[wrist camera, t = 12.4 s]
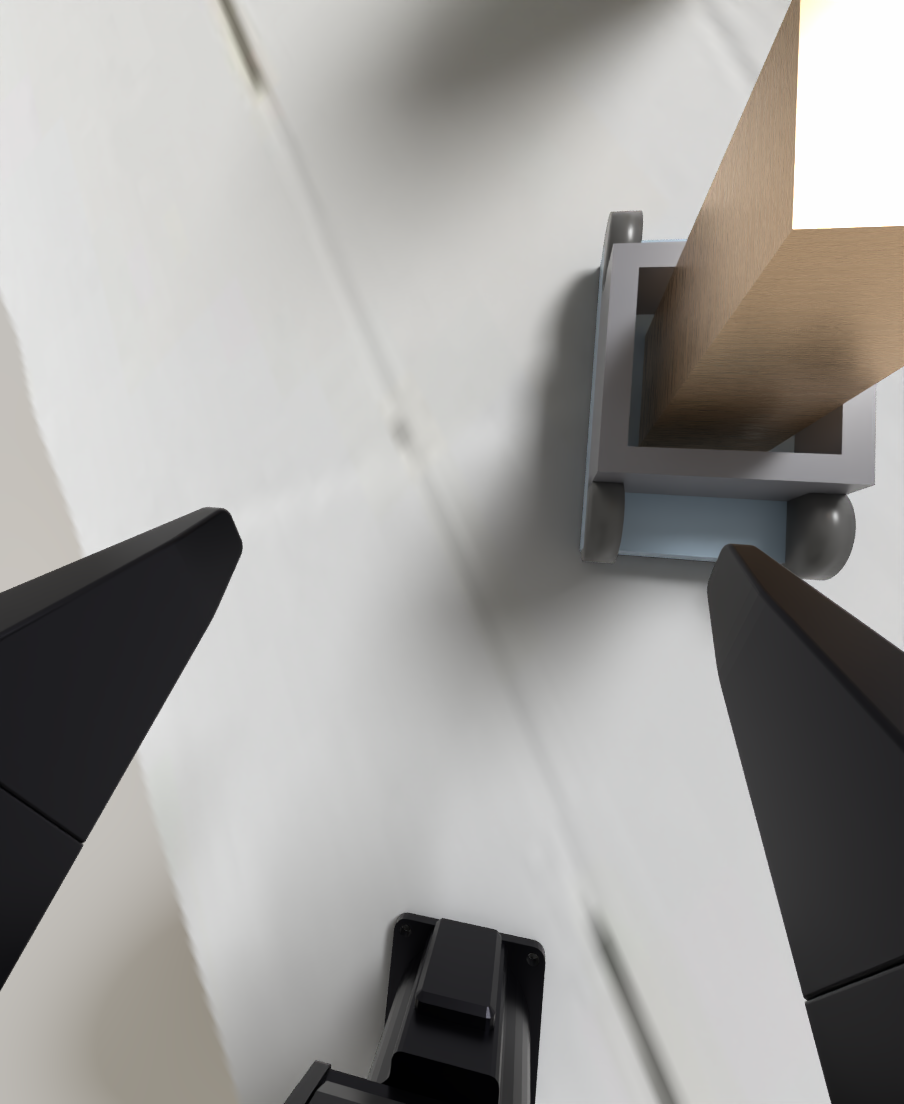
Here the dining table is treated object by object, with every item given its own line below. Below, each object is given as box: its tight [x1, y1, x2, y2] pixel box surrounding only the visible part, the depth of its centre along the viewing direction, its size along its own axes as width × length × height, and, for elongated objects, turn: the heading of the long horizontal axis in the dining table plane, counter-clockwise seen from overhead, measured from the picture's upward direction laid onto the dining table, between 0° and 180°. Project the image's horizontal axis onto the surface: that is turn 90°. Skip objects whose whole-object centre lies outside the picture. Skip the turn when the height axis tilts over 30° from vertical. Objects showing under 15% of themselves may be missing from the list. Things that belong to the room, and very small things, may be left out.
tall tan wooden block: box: [638, 0, 904, 452], centre depth 14 cm, size 5×5×12 cm
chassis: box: [580, 211, 876, 580], centre depth 19 cm, size 15×9×4 cm, turn 175°
